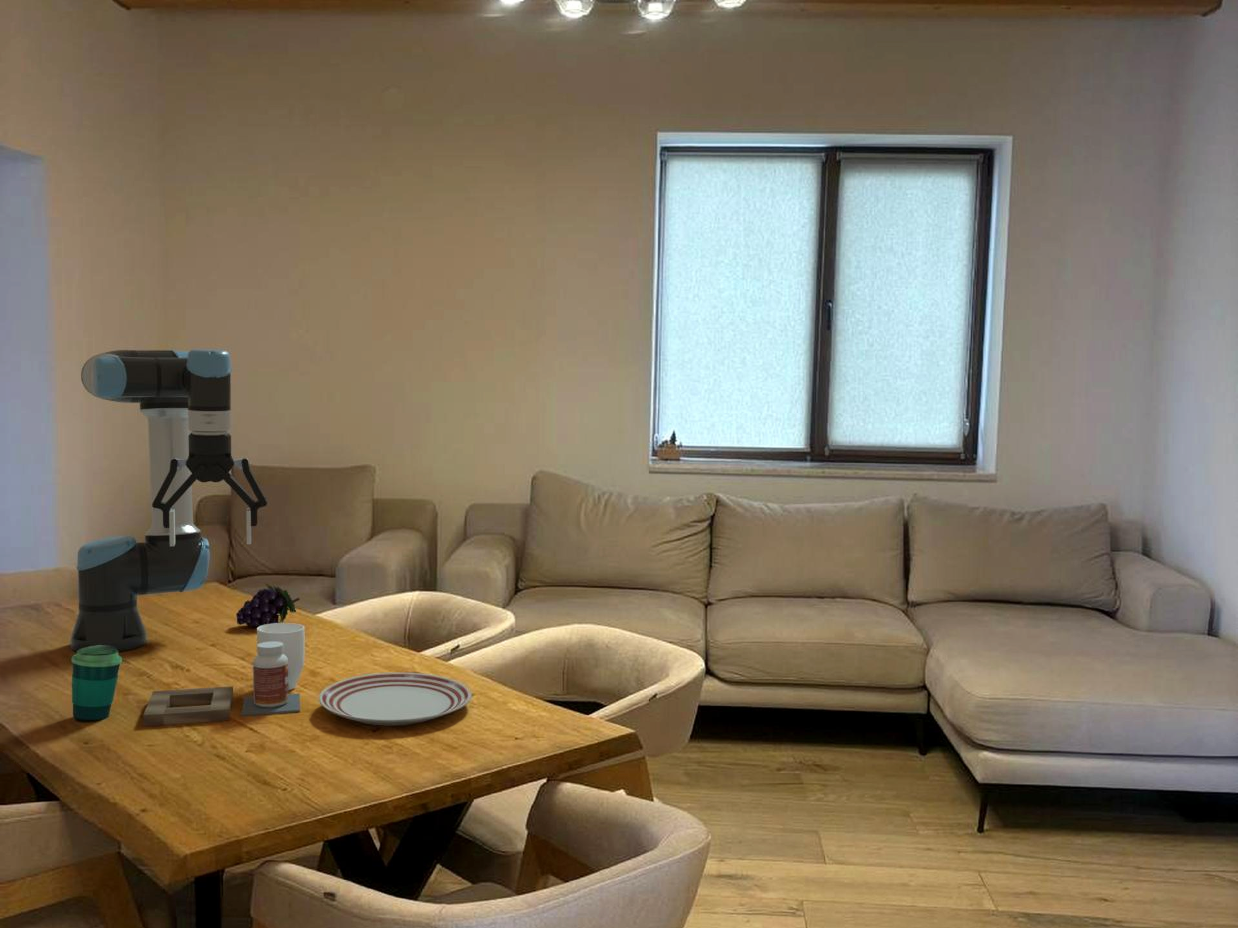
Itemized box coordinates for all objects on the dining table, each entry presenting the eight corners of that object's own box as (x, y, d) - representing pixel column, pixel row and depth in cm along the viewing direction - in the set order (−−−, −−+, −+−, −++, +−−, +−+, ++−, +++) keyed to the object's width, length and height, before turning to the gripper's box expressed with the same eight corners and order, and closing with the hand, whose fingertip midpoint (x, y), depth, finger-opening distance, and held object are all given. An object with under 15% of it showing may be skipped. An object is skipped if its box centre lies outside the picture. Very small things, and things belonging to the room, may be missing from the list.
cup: (73, 711, 198) (71, 646, 197) (123, 706, 202) (121, 642, 200) (71, 725, 191) (69, 657, 190) (122, 720, 194) (121, 653, 193)
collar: (153, 701, 205) (153, 691, 204) (233, 696, 209) (233, 686, 208) (143, 726, 191) (143, 715, 191) (229, 720, 195) (228, 709, 195)
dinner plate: (496, 697, 212) (496, 680, 211) (425, 743, 186) (425, 724, 186) (371, 681, 221) (371, 664, 220) (287, 723, 195) (287, 705, 195)
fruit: (238, 637, 263) (297, 614, 271) (251, 640, 254) (311, 616, 262) (224, 597, 261) (284, 575, 270) (236, 598, 253) (298, 575, 261)
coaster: (244, 698, 207) (244, 696, 207) (299, 695, 210) (299, 693, 210) (241, 715, 198) (241, 713, 198) (299, 711, 200) (299, 709, 200)
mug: (313, 688, 214) (313, 627, 213) (270, 697, 208) (270, 635, 207) (284, 675, 223) (284, 616, 222) (243, 683, 217) (242, 623, 216)
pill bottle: (293, 705, 203) (292, 645, 202) (259, 710, 200) (258, 650, 198) (283, 695, 208) (282, 638, 207) (249, 701, 205) (248, 642, 204)
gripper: (135, 434, 200) (137, 549, 202) (279, 434, 207) (280, 546, 210) (139, 430, 207) (142, 541, 209) (279, 430, 214) (279, 538, 217)
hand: (211, 544), depth 210 cm, fingers open, 13 cm apart
